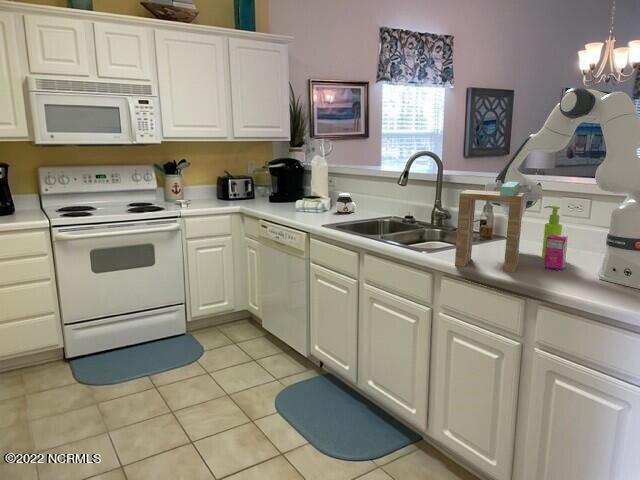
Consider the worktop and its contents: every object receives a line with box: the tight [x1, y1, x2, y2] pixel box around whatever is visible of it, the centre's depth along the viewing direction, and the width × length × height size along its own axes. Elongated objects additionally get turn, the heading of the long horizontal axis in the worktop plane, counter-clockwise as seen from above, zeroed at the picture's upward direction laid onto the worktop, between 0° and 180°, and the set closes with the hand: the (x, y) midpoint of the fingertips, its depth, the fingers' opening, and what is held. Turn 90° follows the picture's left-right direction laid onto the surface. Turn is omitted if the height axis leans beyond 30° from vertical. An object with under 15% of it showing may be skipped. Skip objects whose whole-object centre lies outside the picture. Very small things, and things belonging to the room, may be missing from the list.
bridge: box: [454, 189, 524, 273], centre depth 174 cm, size 14×20×26 cm
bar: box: [500, 182, 519, 196], centre depth 174 cm, size 24×4×3 cm, turn 154°
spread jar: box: [335, 192, 357, 215], centre depth 301 cm, size 12×11×12 cm
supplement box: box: [543, 235, 568, 271], centre depth 172 cm, size 6×6×12 cm
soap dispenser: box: [541, 205, 563, 260], centre depth 187 cm, size 6×7×20 cm
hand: (512, 182), depth 180 cm, fingers open, 8 cm apart
